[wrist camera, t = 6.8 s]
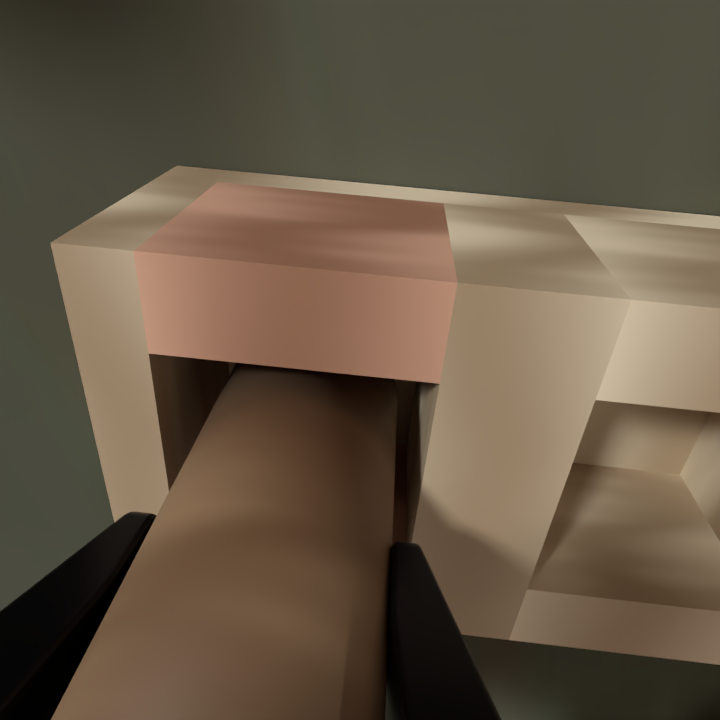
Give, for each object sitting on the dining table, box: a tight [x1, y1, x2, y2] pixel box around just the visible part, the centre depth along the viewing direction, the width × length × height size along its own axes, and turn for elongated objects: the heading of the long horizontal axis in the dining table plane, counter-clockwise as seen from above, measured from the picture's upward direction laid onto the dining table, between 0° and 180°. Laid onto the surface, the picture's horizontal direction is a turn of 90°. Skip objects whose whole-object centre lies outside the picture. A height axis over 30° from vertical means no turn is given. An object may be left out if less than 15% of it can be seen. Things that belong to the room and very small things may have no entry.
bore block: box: [51, 166, 720, 665], centre depth 12 cm, size 14×8×5 cm, turn 86°
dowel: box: [51, 363, 398, 720], centre depth 8 cm, size 4×4×10 cm
